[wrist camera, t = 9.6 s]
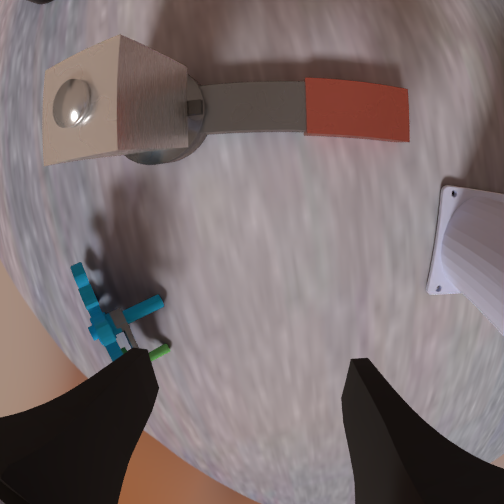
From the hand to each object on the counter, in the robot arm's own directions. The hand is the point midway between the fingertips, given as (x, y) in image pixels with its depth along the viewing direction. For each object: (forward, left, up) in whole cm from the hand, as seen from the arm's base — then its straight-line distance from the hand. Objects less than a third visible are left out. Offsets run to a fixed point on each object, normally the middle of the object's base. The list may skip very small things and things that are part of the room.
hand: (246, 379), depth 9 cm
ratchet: (0, -10, -10) cm, 14 cm away
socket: (+6, -10, -8) cm, 14 cm away
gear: (+11, +4, -11) cm, 16 cm away
